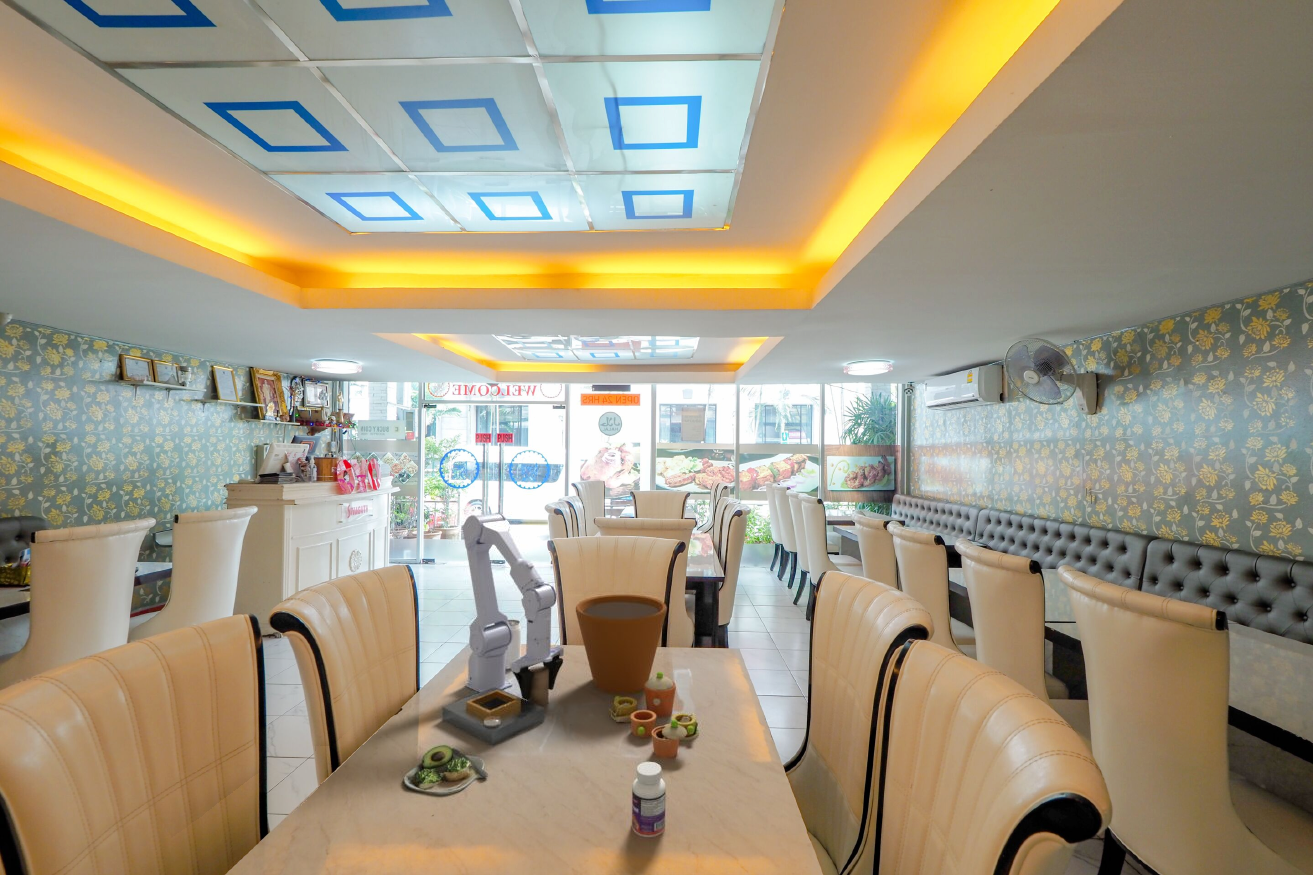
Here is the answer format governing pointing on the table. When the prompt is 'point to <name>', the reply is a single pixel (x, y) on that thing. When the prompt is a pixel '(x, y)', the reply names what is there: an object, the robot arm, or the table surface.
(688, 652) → the table surface
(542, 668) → the walnut peg
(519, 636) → the can
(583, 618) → the flower pot
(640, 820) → the pill bottle
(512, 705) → the gray peg socket base
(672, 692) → the toy tea set
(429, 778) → the salad plate
